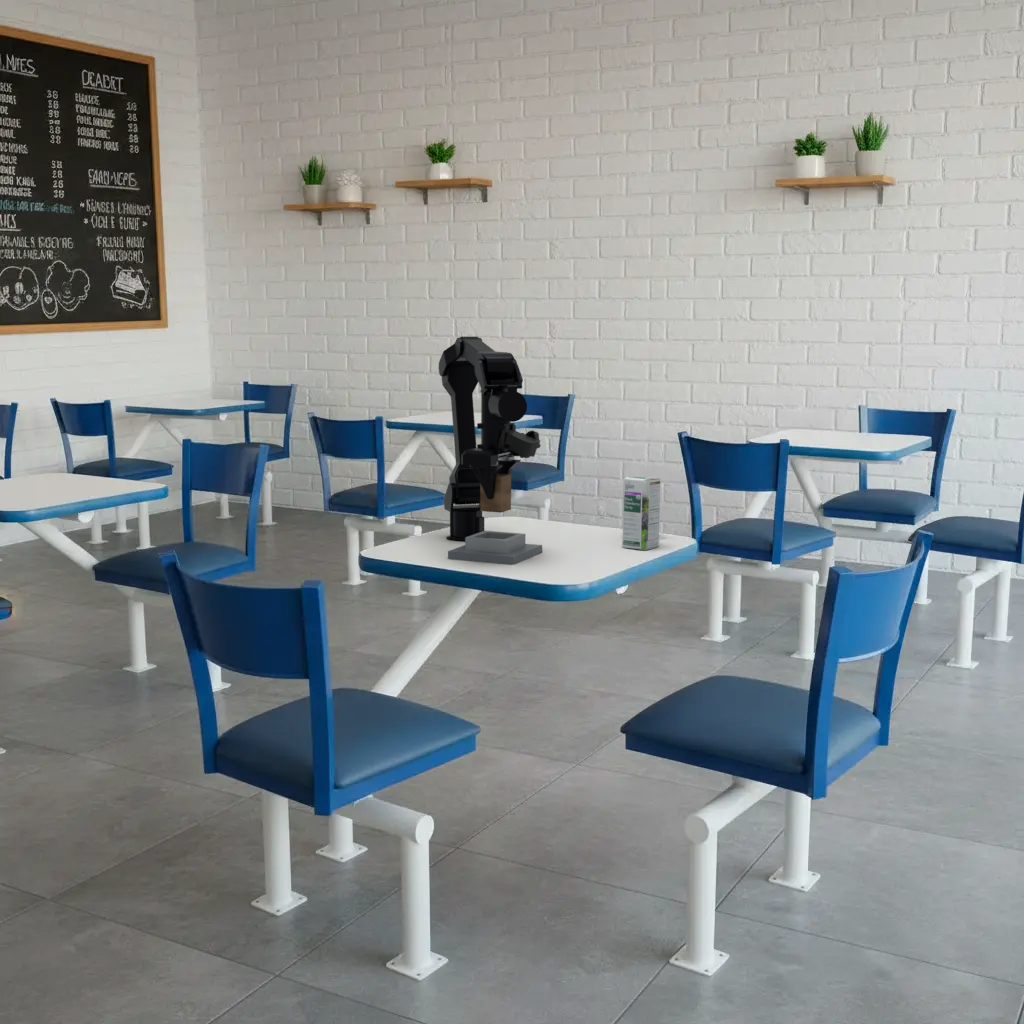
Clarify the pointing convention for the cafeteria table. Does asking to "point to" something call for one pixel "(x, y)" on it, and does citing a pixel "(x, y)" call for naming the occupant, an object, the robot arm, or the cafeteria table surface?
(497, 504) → the walnut peg
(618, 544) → the cafeteria table surface
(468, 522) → the robot arm
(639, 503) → the syrup box
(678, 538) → the cafeteria table surface
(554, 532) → the cafeteria table surface
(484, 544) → the socket block
